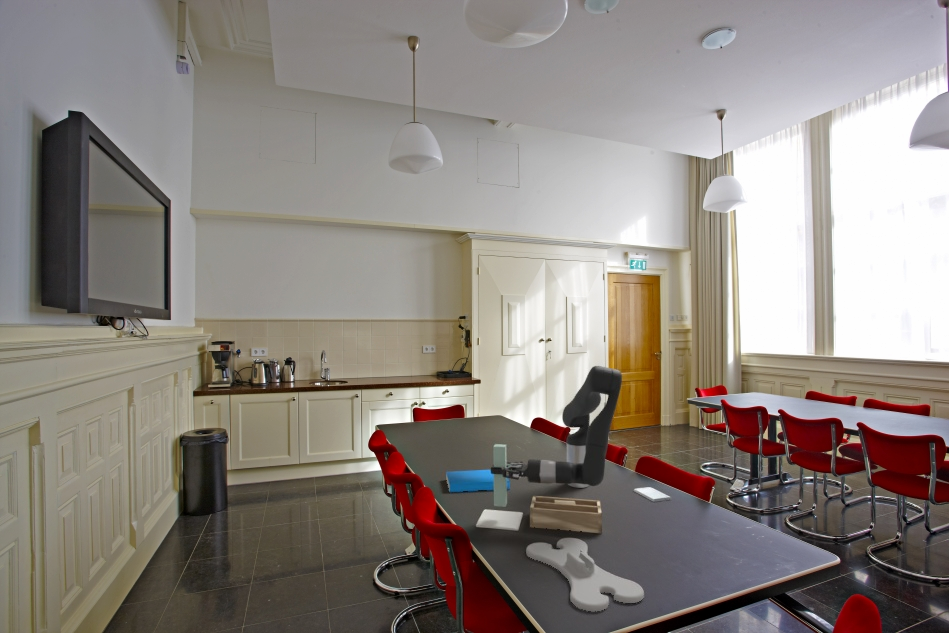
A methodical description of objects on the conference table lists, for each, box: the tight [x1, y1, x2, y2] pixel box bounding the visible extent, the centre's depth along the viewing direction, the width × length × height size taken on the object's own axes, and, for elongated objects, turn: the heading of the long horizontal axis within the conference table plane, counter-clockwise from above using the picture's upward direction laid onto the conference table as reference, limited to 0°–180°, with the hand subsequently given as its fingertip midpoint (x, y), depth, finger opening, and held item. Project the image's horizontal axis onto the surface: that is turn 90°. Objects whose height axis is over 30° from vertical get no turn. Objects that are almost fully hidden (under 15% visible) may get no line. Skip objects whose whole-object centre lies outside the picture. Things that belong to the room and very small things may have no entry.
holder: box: [525, 537, 645, 613], centre depth 125 cm, size 19×34×5 cm, turn 19°
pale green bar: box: [492, 443, 508, 508], centre depth 160 cm, size 4×4×20 cm
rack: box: [529, 495, 603, 534], centre depth 157 cm, size 12×23×6 cm, turn 78°
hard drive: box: [633, 486, 673, 503], centre depth 184 cm, size 2×8×12 cm
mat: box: [475, 509, 524, 531], centre depth 159 cm, size 14×14×1 cm
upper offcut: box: [554, 500, 576, 505], centre depth 160 cm, size 4×7×3 cm, turn 82°
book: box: [445, 469, 511, 493], centre depth 197 cm, size 17×4×25 cm
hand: (492, 468), depth 160 cm, fingers closed on pale green bar, 3 cm apart
